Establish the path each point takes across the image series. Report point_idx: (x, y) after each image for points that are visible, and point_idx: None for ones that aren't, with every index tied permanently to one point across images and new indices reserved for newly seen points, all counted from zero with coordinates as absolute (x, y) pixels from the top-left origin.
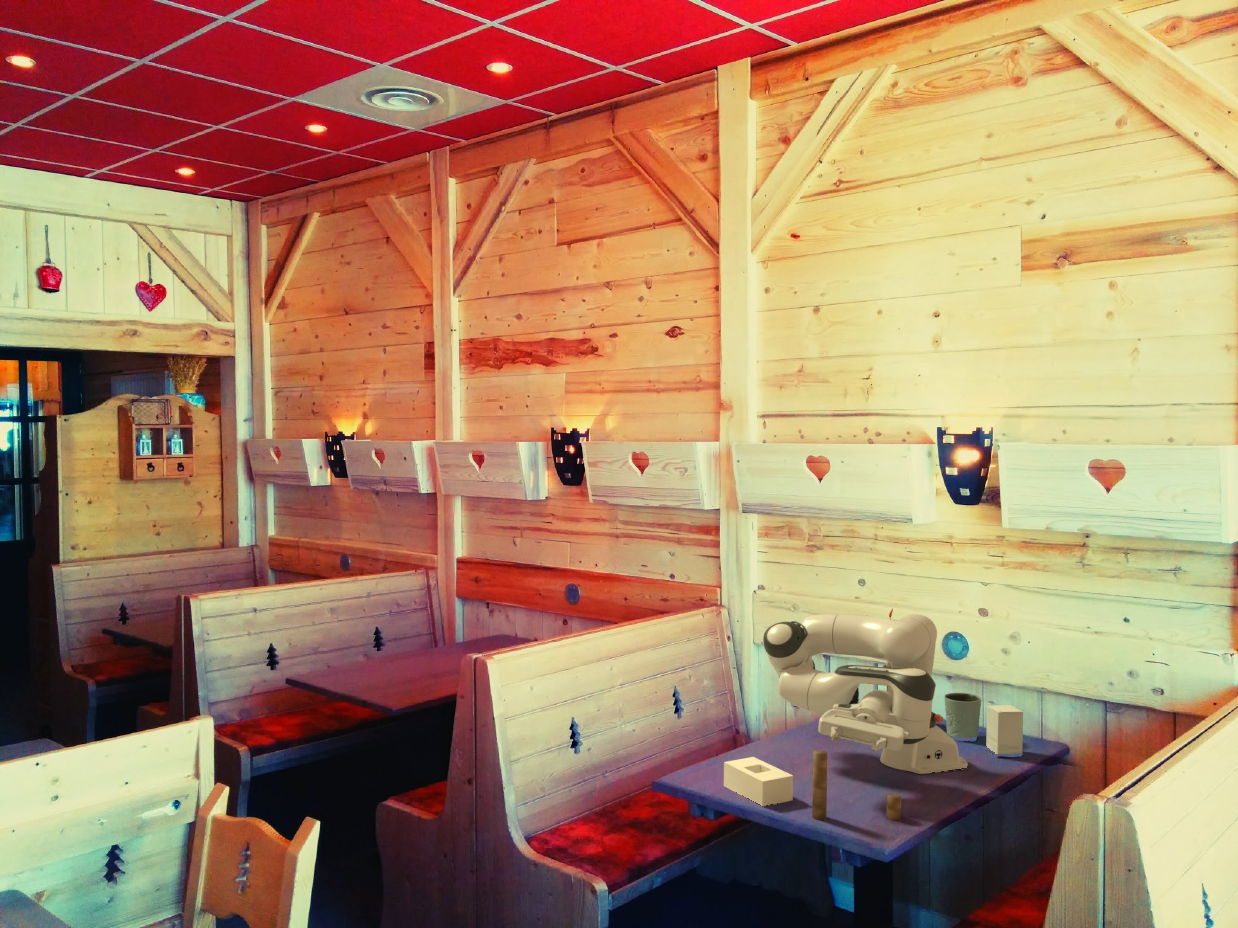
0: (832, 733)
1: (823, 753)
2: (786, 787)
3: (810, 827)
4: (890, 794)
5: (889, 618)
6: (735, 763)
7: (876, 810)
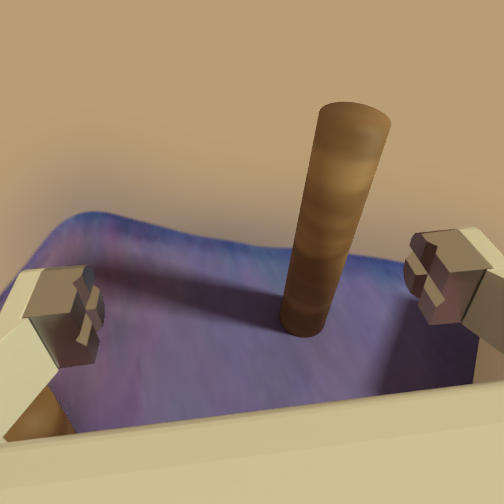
0: (478, 231)
1: (335, 115)
2: (498, 362)
3: (286, 249)
4: (32, 426)
5: None
6: None
7: None
